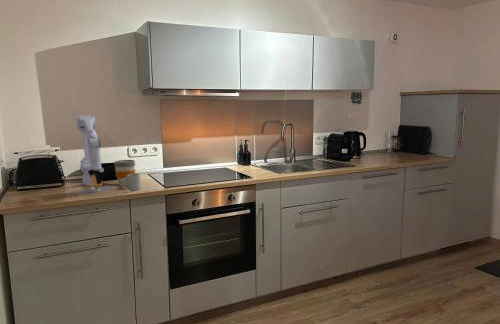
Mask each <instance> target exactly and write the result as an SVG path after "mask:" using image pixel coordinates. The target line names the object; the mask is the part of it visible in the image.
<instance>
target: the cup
mask: <svg viewBox="0 0 500 324" xmlns="http://www.w3.org/2000/svg"><path fill="white" fill-rule="evenodd" d="M140 174H141V173H135V174H128V175H127V177H125V178H124V179H123V186H122V187H124V188H126V189H127V190H128V191H132V192H134V191H139V190H141V189H142V188H141V185H142V184H141V175H140ZM126 180H128V185H126Z"/></svg>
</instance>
